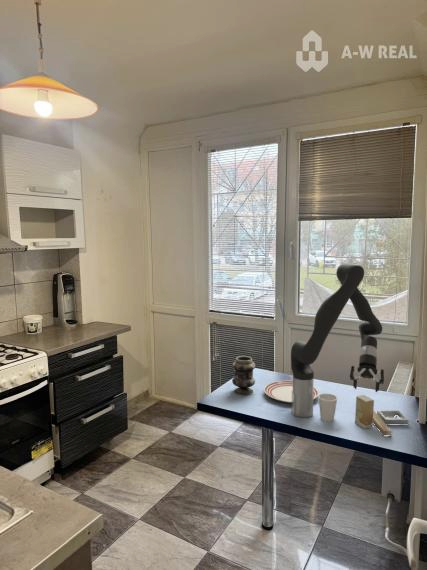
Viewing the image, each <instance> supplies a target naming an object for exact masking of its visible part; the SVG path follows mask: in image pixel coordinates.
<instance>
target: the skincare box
mask: <svg viewBox="0 0 427 570" xmlns="http://www.w3.org/2000/svg"><path fill="white" fill-rule="evenodd" d="M355 399H356V401H355V416H354V423H355V424H357V425H358V426H359V427H360V428H363V429H364V428H366V429H368V428H367V427H371V428H373V425H374V424H373V410H375V409H374V406H375V400H374V399H372V398H371V397H370V396H367V395H365V394H361V395H356V397H355Z"/></svg>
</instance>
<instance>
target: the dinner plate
mask: <svg viewBox="0 0 427 570" xmlns="http://www.w3.org/2000/svg"><path fill="white" fill-rule="evenodd" d="M292 391H293V380H278V381H277V380H276V381H273V382H269V383H267V384H266V385H265V386H264V389H263V392H264V393H265V395H266V396H268V397H269V398H272V399H275V401H276V400H277V401H279V402H283V403H291V404H292ZM318 395H320V392H319V390H318V389H317V388H316V387H315V386H313V400H315V399H316V398H318Z"/></svg>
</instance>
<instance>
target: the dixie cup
mask: <svg viewBox="0 0 427 570" xmlns="http://www.w3.org/2000/svg"><path fill="white" fill-rule="evenodd" d="M317 398H318V404H319V414H320V415H319V416H320V419H321V420H322V421H324V422H333V421H334V420H335V415H336V409H337V401H338V399H339V398H338V396H337V395H335V394H332V393H326V392H324V393H319V395H318V397H317Z"/></svg>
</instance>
